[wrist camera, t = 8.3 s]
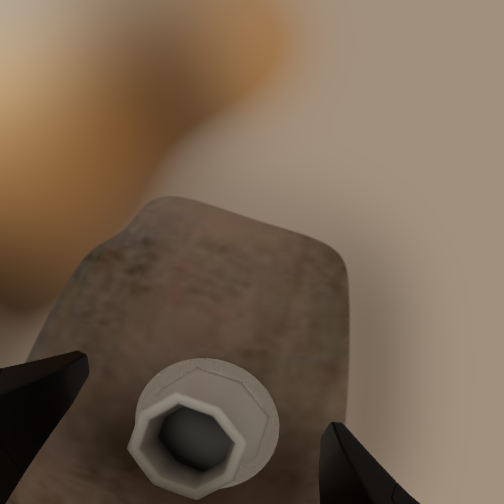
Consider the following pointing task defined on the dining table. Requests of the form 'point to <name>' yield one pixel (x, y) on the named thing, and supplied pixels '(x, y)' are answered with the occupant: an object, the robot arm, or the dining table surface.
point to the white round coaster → (235, 373)
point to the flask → (198, 433)
